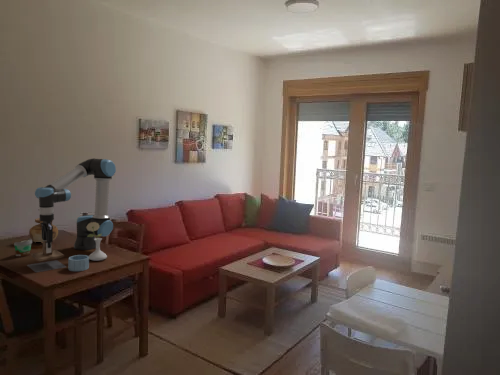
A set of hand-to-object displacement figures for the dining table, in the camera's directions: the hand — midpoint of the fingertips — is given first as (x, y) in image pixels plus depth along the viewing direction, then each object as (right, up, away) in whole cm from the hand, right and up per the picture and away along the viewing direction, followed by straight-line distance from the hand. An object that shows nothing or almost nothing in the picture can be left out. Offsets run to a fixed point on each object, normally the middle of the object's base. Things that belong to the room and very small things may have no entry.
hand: (47, 251), depth 226 cm
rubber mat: (-1, -9, 0) cm, 9 cm away
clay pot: (-32, -2, +54) cm, 63 cm away
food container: (-25, -6, +20) cm, 32 cm away
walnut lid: (0, -3, 0) cm, 3 cm away
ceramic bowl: (+19, -10, -1) cm, 22 cm away
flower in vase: (+22, -9, +19) cm, 30 cm away
